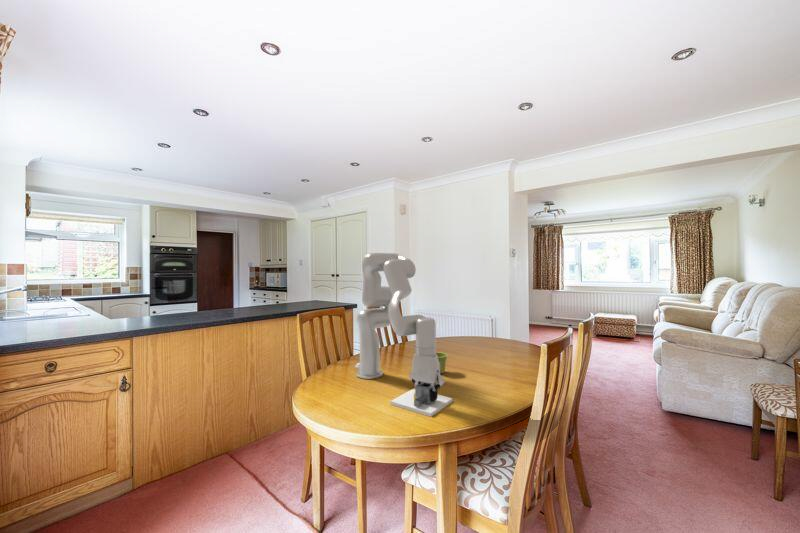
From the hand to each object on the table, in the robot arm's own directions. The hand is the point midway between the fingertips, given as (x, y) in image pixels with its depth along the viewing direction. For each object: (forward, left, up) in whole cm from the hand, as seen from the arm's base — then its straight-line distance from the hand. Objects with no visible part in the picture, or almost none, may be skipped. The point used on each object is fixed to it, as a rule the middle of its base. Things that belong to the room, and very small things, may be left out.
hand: (426, 398), depth 126 cm
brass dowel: (-1, -6, -1) cm, 6 cm away
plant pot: (-15, +35, -3) cm, 38 cm away
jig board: (-2, 0, -2) cm, 3 cm away
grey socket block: (0, -2, -1) cm, 2 cm away
